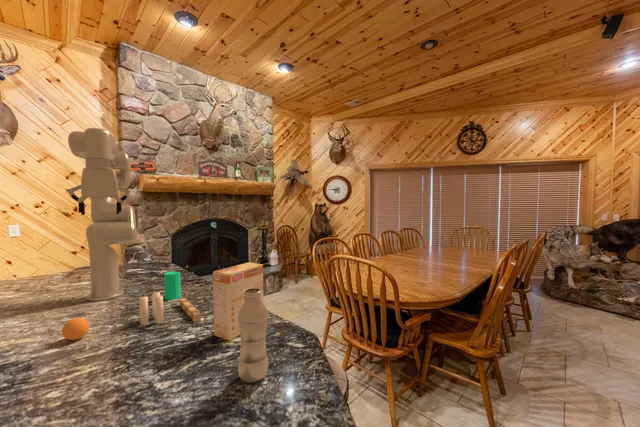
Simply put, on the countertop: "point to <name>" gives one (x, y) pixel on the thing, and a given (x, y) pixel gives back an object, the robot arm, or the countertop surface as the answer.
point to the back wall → (190, 310)
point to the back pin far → (154, 302)
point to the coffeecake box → (233, 296)
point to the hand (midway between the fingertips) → (101, 214)
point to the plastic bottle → (253, 337)
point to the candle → (172, 285)
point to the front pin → (143, 310)
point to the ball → (75, 329)
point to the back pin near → (159, 310)
